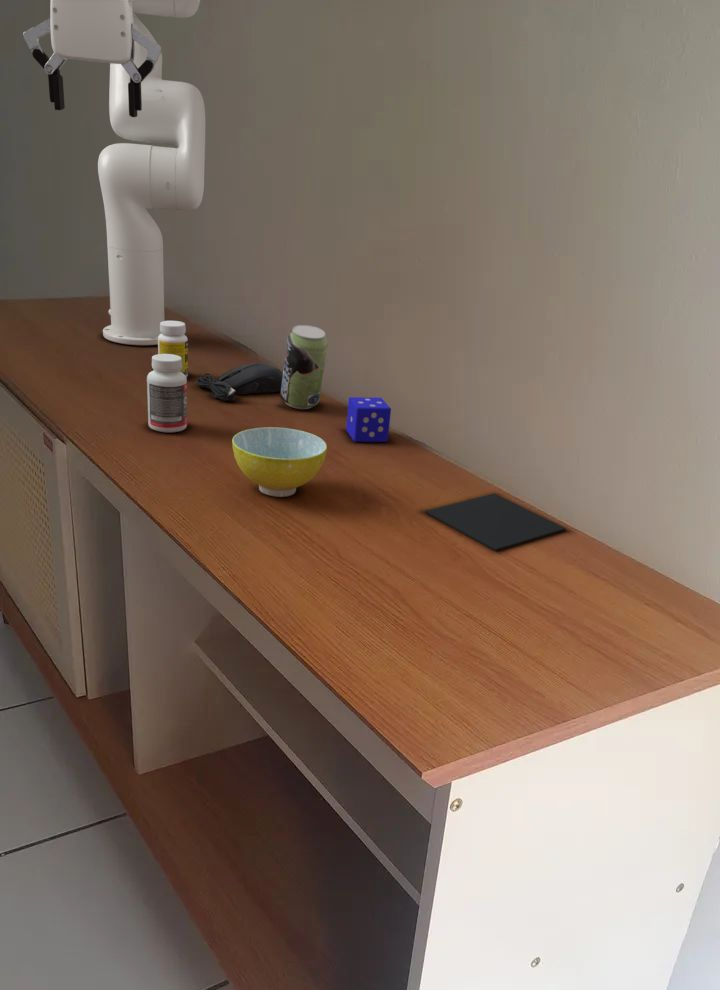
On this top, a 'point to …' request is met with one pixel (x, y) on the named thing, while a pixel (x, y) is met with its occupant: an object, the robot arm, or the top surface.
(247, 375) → the computer mouse
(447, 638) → the top surface
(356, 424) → the die
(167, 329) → the supplement bottle
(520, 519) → the mat
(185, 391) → the pill bottle
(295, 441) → the bowl
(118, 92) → the robot arm
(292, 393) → the beverage can
